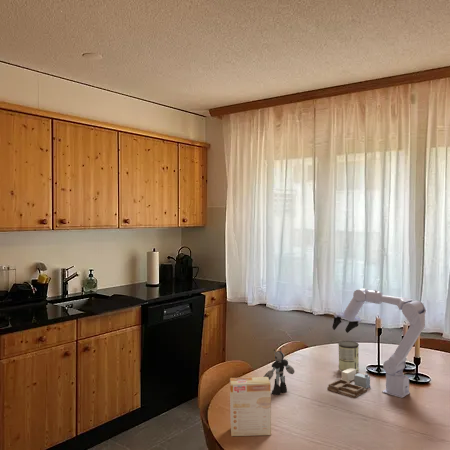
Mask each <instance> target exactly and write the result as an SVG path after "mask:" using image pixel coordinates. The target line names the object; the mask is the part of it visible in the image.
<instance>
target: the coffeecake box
mask: <svg viewBox="0 0 450 450" xmlns="http://www.w3.org/2000/svg"><path fill="white" fill-rule="evenodd" d="M270 381H271V380H269V378H268V377H264V376H258V377H257V376H256V377H255V376H254V377H230V378H229V398H230V399H229V402H230V403H229V404H230V405H229V407H230V409H229V410H230V413H229V414H230V435H231V437H249V436H250V437H251V436H253V437H254V436H255V437H256V436H272V410H271V409H272V406H271V405H272V404H271V403H272V401H271V400H272V399H271V396H272V395H271V394H272V390H271V387H272V386H271V382H270Z"/></svg>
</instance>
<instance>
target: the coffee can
mask: <svg viewBox="0 0 450 450" xmlns="http://www.w3.org/2000/svg"><path fill="white" fill-rule="evenodd" d="M337 345H338V370H339V371H340V372H341V373H342V371H344V370H347V369H349V368H353V369H356V374H358V373H359V372H360V368H359V367H360V366H359V363H360V362H359V343H358V342H356V341H353V340H341V341H338V343H337Z"/></svg>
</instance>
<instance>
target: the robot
mask: <svg viewBox="0 0 450 450" xmlns="http://www.w3.org/2000/svg"><path fill="white" fill-rule="evenodd" d="M273 354H274V356H273V357H274V362H273V363H272V364H271V370H268V371H267V372H265V374H264V375H263V377H268V378H269V381H271V379H272V378H273V377H274V374H275V378H274V385H273V389H272V390H271V394H272V395H274V396H281V394H286V393H287V392H288V388H287V384H286V376H285V375H284V370H285V371H286V372H287V373H288V374H290V375H293V374H295V369H294V367H293V366H292V365H290V364H289V361H288V360H287V359H284V358H285V357H286V355H285V353H283V351H282V348H281V347H280V348H279V350H278V351H276V350H275V349H273ZM274 372H275V373H274ZM279 383H280V384H279Z"/></svg>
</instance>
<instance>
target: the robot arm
mask: <svg viewBox="0 0 450 450" xmlns="http://www.w3.org/2000/svg"><path fill="white" fill-rule="evenodd" d="M365 302H366V303H371V304H376V305H380V304H382V303H385V304H389V305H394V306H397V309H398V310H399V311H401V313H402V314H403V316H404V317H405V318H406V320H407V321H408V323H409V325H410V326H409V327H408V329H407V331H406V332H405V334H404V336H403V337H402V339H401V341H400V342H399V344H398V346H397V348H396V349H395V350H394V352H393V353H392V354H391V355H390V356H389V358H388V359H387V360H385V361H384V362H383V364H382V367H383V368H382V369H383V371H384V372H385V386H386V387H385V389H384V390H382V393H384V394H388V395H391V396H394V397H396V398H397V397H398V398H405V397H406V396H407V395H409V394H410V379H409V376H407V375H405V374H404V372H403V371H404V369H405V368H406V363H407V360H408V359H407V357H408V355H409V353H410V352H411V350H412V348H413V346H414V345H415V344H416V342H417V340H418V338H419V337H420V335H421V333H422V332H423V331H424V328H425V327H426V316H425V315H426V311H427V310H426V307H425V305H424V303H423V302H422V301H421V300H416V299H413V298H407V297H401V296H393V295H387V294H386V295H385V294H383V292H381V291H379V289H375V290H370V289H369V288H358V289H355V290H354V292H353V297H352V299H351V300H350V301H349V303H348V305H347V306H346V308H345V310H344V311H340V312H339V311H335V312H334V313H333V323H332V330H334V331H335V330H336V329H337V328H338V326H339V325H340V324H341V323H342V320H343V319H344V320H346V321H349V322H348V324H347V325H346V327H345V332H346V333H347V334H348V333H349V332H350V331H352V330H353V329H355V328H357V327H358V326H359V325H360V324H361V322H362V319H361V317H359V316H357V315H358V314H359V312H360V310H361V309H362V307H363V306H364V304H365Z"/></svg>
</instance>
